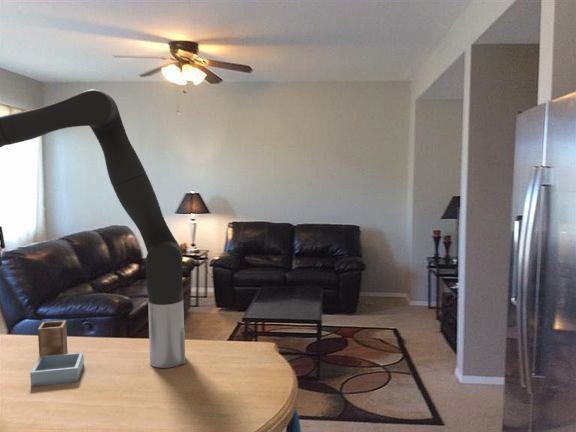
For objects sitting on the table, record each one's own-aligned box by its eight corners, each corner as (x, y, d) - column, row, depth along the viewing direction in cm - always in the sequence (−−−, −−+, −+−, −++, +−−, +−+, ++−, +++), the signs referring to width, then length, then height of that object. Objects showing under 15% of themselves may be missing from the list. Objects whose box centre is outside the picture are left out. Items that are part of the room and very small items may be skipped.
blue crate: (83, 364, 132) (83, 352, 132) (78, 381, 122) (77, 367, 121) (40, 369, 129) (39, 356, 129) (31, 386, 119) (30, 372, 119)
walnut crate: (67, 354, 139) (66, 320, 138) (64, 363, 133) (62, 327, 132) (44, 357, 137) (42, 322, 136) (39, 365, 132) (37, 329, 131)
